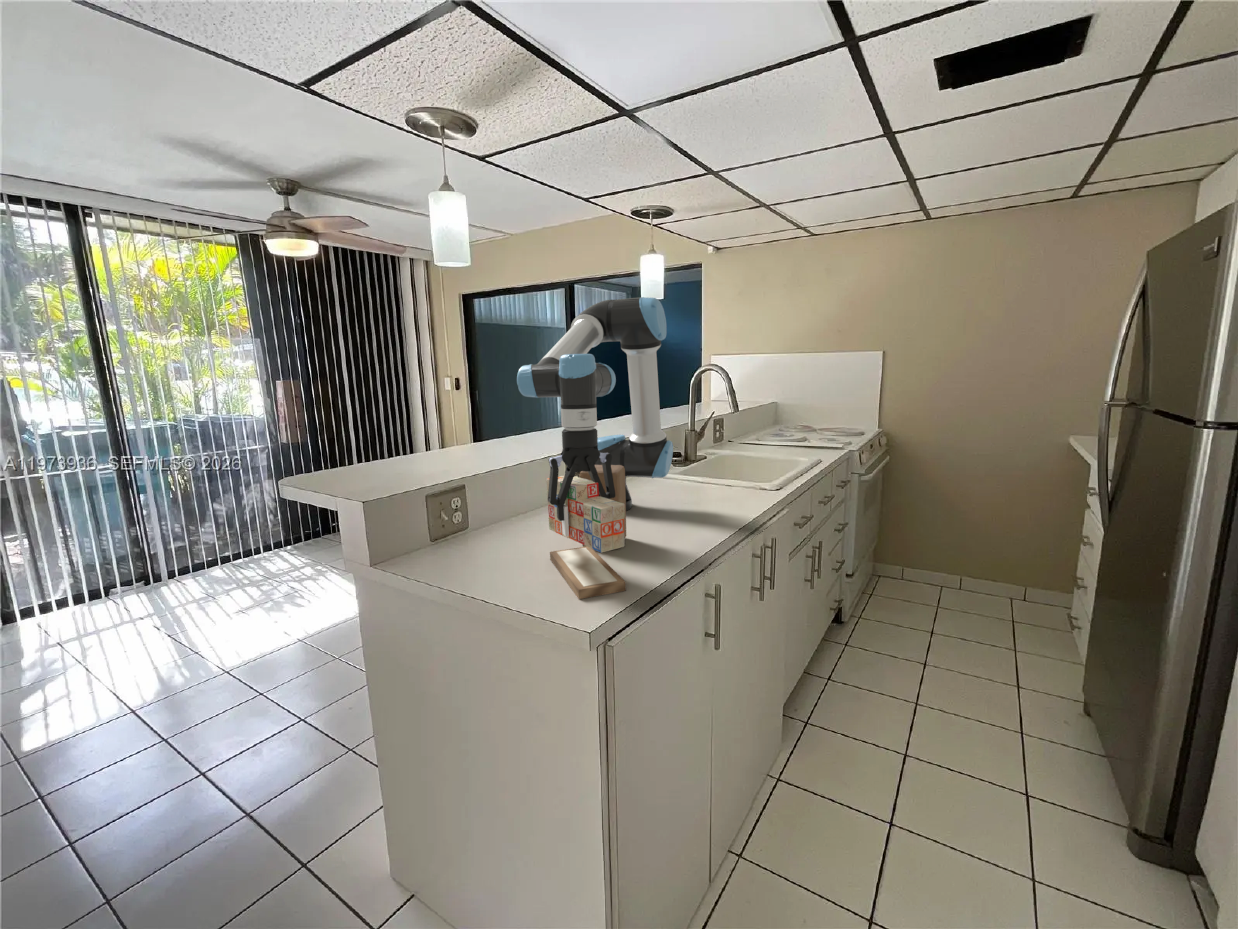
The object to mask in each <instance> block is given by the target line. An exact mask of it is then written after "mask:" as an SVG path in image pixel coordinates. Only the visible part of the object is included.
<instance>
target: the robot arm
mask: <svg viewBox="0 0 1238 929" xmlns="http://www.w3.org/2000/svg"><path fill="white" fill-rule="evenodd" d="M667 331H668V330H667V319H666V313H665V309H664V307H663V304H662V303H661V301H660V300H659V299H658V298H656V297H648V296H647V297H644V296H643V297H642V296H641V297H631V298H630V297H629V298H618V299H605V300H602V301H599V302H597V303H594V304H592V305H591V306H589V307H587V308H586V309H584V310H583V311H581V312H580V313H578V315H577V316H576V317H575V318H573V320H572V322H571V324H570V328H569V329H568V331H566V332H565V334H564V335H563V336H562V337H561V338H560V339H558V341H557V342H556V344H554V346H552V348H551V349H550V350H549V351H548V352H547V353H546V354H545V355H544V356H543V357H542V358H541V359H540V360H539V362H538V363H536V364H532V363H530V364H524V365H522V366H520V368H518V372H517V374H516V375H517V376H516V384H517V387H518V391H519V393H520V394H521V395H522V396H523V397H526V398H536V399H539V398H560V418H561V427H562V428H563V430H562V431H561V442H562V444H561V445H562V450H561V453H560V455H558V456H555V457H552V456H549V457H548V459H547V460H548V463H549V464H548V465H549V467H550V470H549V477H548V478H549V490H548V498H547V503H548V502H549V503H550V504H552V505H556V506H557V518H558V520H559V521H562V533H563V534H564V535H565V536H569V524H568V506H566V505H565V501H566V498H567V495H568V492H569V489H570V486H571V483H572V480H573V477H574V476H576V474H577V473H580V472H581V471H585V472H588V473H589V475H590V477H591V480H592V481H593V482H595V483H598V488H599V496H601V497H604V498H607V499H610V498H614V497H615V488H614V482H613V476H612V469H611V465H622V466H624V468H625V495H626V511H628V510H630V509H632V507H633V500H632V496H631V494H630V490H629V488H628V485H627V477H629V478H630V477H632V478H649V479H650V478H651V479H655V478H656V479H657V478H659V479H662V478H665V477H667V476H668V474H669V472H670V470H671V466H672V461H673V455H674V445H673V441H672V440H670V439H668V440H667V433H666V432H665V431H664V430H662V426H661V425H662V424H661V423H662V422H661V409H660V393H659V392H660V391H659V375H658V374H659V372H658V357H657V351H658V350H660V348H661V346H662V341H663V340H665V339H666V337H667V333H668V332H667ZM607 342H620V349H621V350H622V352H624V353H625V354H626V359H627V360H626V361H627V372H628V386H629V397H630V406H631V407H630V408H631V410H630V411H631V422H632V424H631V425H632V432H631V433H630V434H629V435H628V439H626V435H625V434H612V435H606V436H600V437H598V430H597V428H595V427H597V425H598V417H597V414H598V412H597V398H599V397H600V398H602V397H604V396H606V395H609V394H610V393H611V392H612V391H613V390H614V388H615V386H616V384H617V383H616V382H617V379H616V378H617V377H616V374H615V371H614V370H613V369H612V367H610V365H607V364H605V363H602V362H596V358H595V355H594V354H592V353H589V352H590V350H591V349H592V348H595V347H597V346H598V345H600V344H601V343H607ZM562 462H563V463H564V464H565V465H566V468H565V471H564V475H563V476H564V479H563V482H562V485H561V488H560V491H559V494H558V497H557V499H556V495H557V484H558V477H559V467H561V465H562ZM595 465H602V467H603V473H604V480H605V486H606V493H605V490H604V488H603V486H602V483H601V481H600V478H599V476H598V474H597V470H596V468H595Z"/></svg>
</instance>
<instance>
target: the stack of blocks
mask: <svg viewBox="0 0 1238 929" xmlns="http://www.w3.org/2000/svg"><path fill="white" fill-rule="evenodd" d="M564 476H565V475H560V476H559V475H558V484H557V495H556V499H557V497H558V494H559V491H560V488H561V485H562V482H563V479H564ZM549 478H550V477H548V478H545V479H546V480H545V481H546V491H547V492H546V495H547V499H548V490H549ZM565 505H566V506H568V524H569V536H565V535H564V534H563V533H562V521H559V520H558V518H557V506H556V505H552V504H550V503H549V502H548V501H547V509H548V526H549V530H550V531H552V532H554V533H556V534H558V535H559V536H563V537H565V538H567V539H570V540H572V541H575V542H578V543H579V544H581V545H582V544H583V545H585V546H587V547H589V548H592V549H593V550H594V551H595V552H597V553H598V552H599V553H605V552H609V551H612V550H613V551H614V550H618V549H620V548H624V547H625V543H626V542H625V540H626V538H625V539H624V517H625V514H624V513H625V512H624V504H623V503H620V502H617V501H614V500H611V499H607V498H604V497H601V496H599V488H598V483H595V482H593V481H591V480H587V479H583V478H580V477H578V476H576V475H575V476H574V477H573V480H572V483H571V486H570V489H569V492H568V495H567V498H566V501H565ZM583 545H582V546H583ZM617 548H618V549H617Z"/></svg>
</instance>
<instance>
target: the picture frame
mask: <svg viewBox="0 0 1238 929" xmlns="http://www.w3.org/2000/svg"><path fill="white" fill-rule="evenodd" d="M549 560H550V561H551V563H552V565H554V567H555V568H556V569H557V572H558V573H559V574H560V575H561V577H562V578H563V580H564V581H565V583H566V584H567V585H568V586H569V588H570V589H571V590H572V592H573V593H574V595H575V596H576V598H577V599H578V600H583V599H587V598H593V597H599V596H605V595H609V594H614V593H616V594H617V593H621V592H626V591H627V590H626V588H627V587H626V581H625V580H624V579H623V578H622V577H621V575H619V573H617V572H616V570H614V569H613V568H612V567H611V566H610V565H609V564H608V563H607V561H606V560H604V559H603V558H602V556H600V555H599V554H598V552H597V551H596V550H594V549H592V548H589V547H587V546H586V547H583V546H580V547H572V548H566V549H560V550H553V551H552V550H551V551H550V552H549Z"/></svg>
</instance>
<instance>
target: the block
mask: <svg viewBox="0 0 1238 929" xmlns="http://www.w3.org/2000/svg"><path fill="white" fill-rule="evenodd" d="M595 468H596V470H597V474H598V476H599V478H600V481H601V483H602V486H603V488H604V490H605V493H606V486H605V480H604V473H603V467H602V465H595ZM611 469H612V476H613V482H614V488H615V497H614V498H610V499H611V500H614V501H617V502H620V503H623V504H624V512H625V513H624V514H625V517H624V539H625V540H626V537H627V510H626V495H625V468H624V466H622V465H611ZM578 475H579V478H583V479H587V480H591V477H590V475H589V473H588V472H585V471H581V472H579V474H578ZM591 481H592V480H591ZM581 545H582V547H586V546H585V545H583V544H581ZM618 549H619V548H617V549H616V550H618Z"/></svg>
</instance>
